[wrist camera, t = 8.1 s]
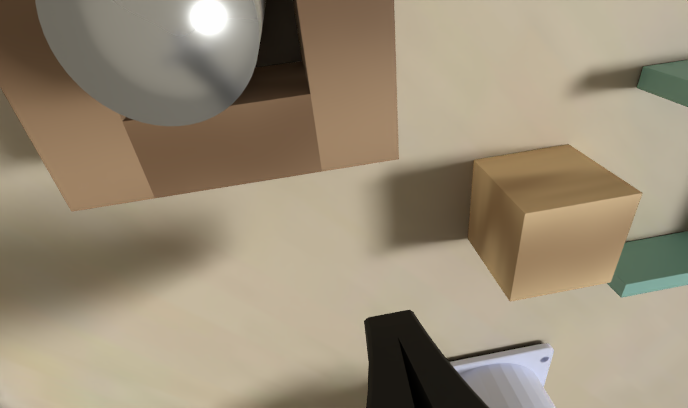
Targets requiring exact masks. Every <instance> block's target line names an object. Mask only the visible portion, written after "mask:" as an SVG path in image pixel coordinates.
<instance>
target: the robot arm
mask: <svg viewBox="0 0 688 408" xmlns="http://www.w3.org/2000/svg"><path fill="white" fill-rule="evenodd" d="M364 324H365V333H366V342H367V351H368V361H369V371H368V395H367V406H366V408H556V407H555V405H554V403H553V402H552V400H551V399H550V397H549V395H548V394H547V392H546V391H545V389H544V384H545V380H546V377H547V373H548V370H549V366H550V363H551V359H552V356H553V353H554V350H553V348H552V347H551V345H550V344H548V343H543V344H538V345H533V346H528V347H523V348H518V349H512V350H507V351H502V352H497V353H492V354H487V355H482V356H477V357H472V358H467V359H462V360H457V361H452V362H449V361H448V360H447V359H446V358H445V356H444V355H443V354H442V352H441V351H440V350H439V349H438V347H437V346H436V345H435V343H434V342H433V341H432V339H431V338H430V336H429V335H428V334H427V332H426V331H425V329H424V328H423V326H422V325H421V323H420V322H419V320H418V319H417V317H416V316H415V314H414V312H412V311H411V310H406V311H400V312H395V313H390V314H384V315H379V316H374V317H369V318H367V319H366V320H365V321H364Z"/></svg>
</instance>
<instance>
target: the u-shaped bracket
mask: <svg viewBox="0 0 688 408" xmlns="http://www.w3.org/2000/svg"><path fill="white" fill-rule="evenodd" d="M637 88H638V89H641V90H644V91H646V92H649V93H652V94H654V95H657V96H660V97H662V98H665V99H668V100H670V101H673V102H676V103H678V104H681V105H684V106H686V107H688V60H684V61H677V62H670V63H664V64H657V65H650V66H644V67H643V69H642V72H641V76H640V79H639V82H638V86H637ZM607 284H608V285H609V286H610V287H611V288H612V289H613V290H614V291H615V292H616V293H617V294H618V295H619V296H620V297H626V296H632V295H637V294H642V293H647V292H652V291H658V290H663V289H668V288H673V287H678V286H684V285H688V231H686V232H681V233H675V234H670V235H664V236H659V237H653V238H648V239H642V240H637V241H631V242H626V243H625V244H624V247H623V249H622V252H621V255H620V258H619V261H618V264H617V266H616V269H615V272H614V275H613V278H612V280H611V282H610V283H607Z"/></svg>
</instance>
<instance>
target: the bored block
mask: <svg viewBox="0 0 688 408" xmlns="http://www.w3.org/2000/svg"><path fill="white" fill-rule="evenodd" d="M293 5H294V12H295V18H296V24H297V31H298V37H299V44H300V50H301V57H302V61H299V62H292V63H285V64H278V65H271V66H264V67H257V68H255V69H254V72H253V75H252V77H251V79H250V81H249V83H248V85H247V86H246V88H245V89H244V91H243V92H242V94H241V95H240V96H239V97H238V98H237V99H236V101H235V102H234V103H233V104H232V105H230V106H229V107H228V108H227V109H225V110H224V111H223V112H221V113H219V114H218V115H216V116H214V117H212V118H210V119H207V120H205V121H202V122H199V123H195V124H191V125H184V126H159V125H152V124H147V123H143V122H139V121H136V120H133V119H130V118H127V117H125V116H123V115H121V114H118V113H116V112H114V111H113V110H111V109H109V108H107V107H106V106H104V105H102V104H101V103H99V102H98V101H97V100H95V99H94V98H92V97H91V96H90V95H89V94H88V93H86V92H85V91H84V90H83V89H82V88H81V87H80V86H79V85H78V84H77V83H76V82H75V81H74V80H73V79H72V78H71V77H70V76H69V75H68V73H67V72H66V71H65V70H64V68H63V67H62V66H61V64H60V63H59V62H58V60H57V58H56V57H55V55H54V53H53V52H52V50H51V48H50V46H49V44H48V42H47V40H46V38H45V36H44V33H43V30H42V27H41V24H40V21H39V18H38V13H37V8H36V2H35V0H0V87H1V89H2V91H3V93H4V94H5V96H6V98H7V100H8V101H9V103H10V105H11V107H12V108H13V110H14V112H15V114H16V115H17V117H18V119H19V121H20V122H21V124H22V126H23V128H24V129H25V131H26V133H27V135H28V136H29V138H30V140H31V142H32V143H33V145H34V147H35V149H36V150H37V152H38V154H39V156H40V157H41V159H42V161H43V163H44V164H45V166H46V168H47V170H48V171H49V173H50V175H51V177H52V178H53V180H54V182H55V184H56V185H57V187H58V189H59V191H60V192H61V194H62V196H63V198H64V199H65V201H66V203H67V204H68V206H69V208H70V210H71V211H78V210H84V209H91V208H97V207H103V206H109V205H116V204H122V203H128V202H134V201H140V200H147V199H153V198H159V197H165V196H172V195H178V194H184V193H190V192H197V191H203V190H209V189H215V188H221V187H228V186H234V185H240V184H246V183H253V182H259V181H265V180H271V179H278V178H284V177H290V176H296V175H303V174H309V173H315V172H321V171H327V170H334V169H340V168H346V167H352V166H359V165H365V164H371V163H377V162H384V161H390V160H396V159H399V151H398V118H397V85H396V52H395V19H394V0H293Z"/></svg>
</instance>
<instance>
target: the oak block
mask: <svg viewBox="0 0 688 408" xmlns="http://www.w3.org/2000/svg"><path fill="white" fill-rule="evenodd" d="M641 196H642V192H640V191H639V190H637V189H636V188H634V187H633V186H631V185H630V184H628V183H627V182H625V181H624V180H622V179H621V178H619V177H617V176H616V175H614V174H613V173H611V172H610V171H608V170H607V169H605V168H604V167H602V166H601V165H599V164H598V163H596V162H595V161H593V160H592V159H590V158H589V157H587V156H586V155H584V154H583V153H581V152H580V151H578V150H576V149H575V148H573V147H572V146H570V145H569V144H567V145H561V146H555V147H549V148H543V149H537V150H531V151H525V152H519V153H513V154H507V155H501V156H495V157H489V158H483V159H477V160H474V165H473V178H472V190H471V203H470V215H469V228H468V240H469V241H470V243H471V244H472V246H473V247H474V249H475V250H476V252H477V253H478V255H479V256H480V258H481V259H482V261H483V262H484V264H485V265H486V267H487V268H488V270H489V271H490V273H491V274H492V275H493V277H494V278H495V280H496V281H497V283H498V284H499V286H500V287H501V289H502V290H503V292H504V293H505V295H506V296H507V298H508V299H509V301H515V300H521V299H526V298H531V297H536V296H542V295H547V294H552V293H557V292H563V291H568V290H573V289H578V288H584V287H589V286H594V285H599V284H604V283H610V282H611V280H612V278H613V275H614V272H615V269H616V266H617V264H618V261H619V258H620V255H621V252H622V249H623V247H624V244H625V241H626V238H627V235H628V233H629V230H630V227H631V224H632V221H633V219H634V216H635V213H636V210H637V207H638V204H639V202H640V199H641Z"/></svg>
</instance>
